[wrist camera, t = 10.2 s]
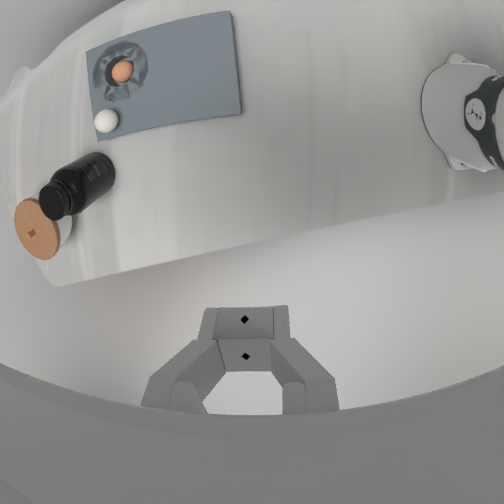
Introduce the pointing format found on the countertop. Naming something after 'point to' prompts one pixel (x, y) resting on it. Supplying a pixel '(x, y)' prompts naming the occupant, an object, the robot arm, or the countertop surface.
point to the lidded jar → (40, 229)
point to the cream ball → (106, 120)
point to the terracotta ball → (123, 71)
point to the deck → (168, 74)
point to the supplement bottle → (76, 186)
